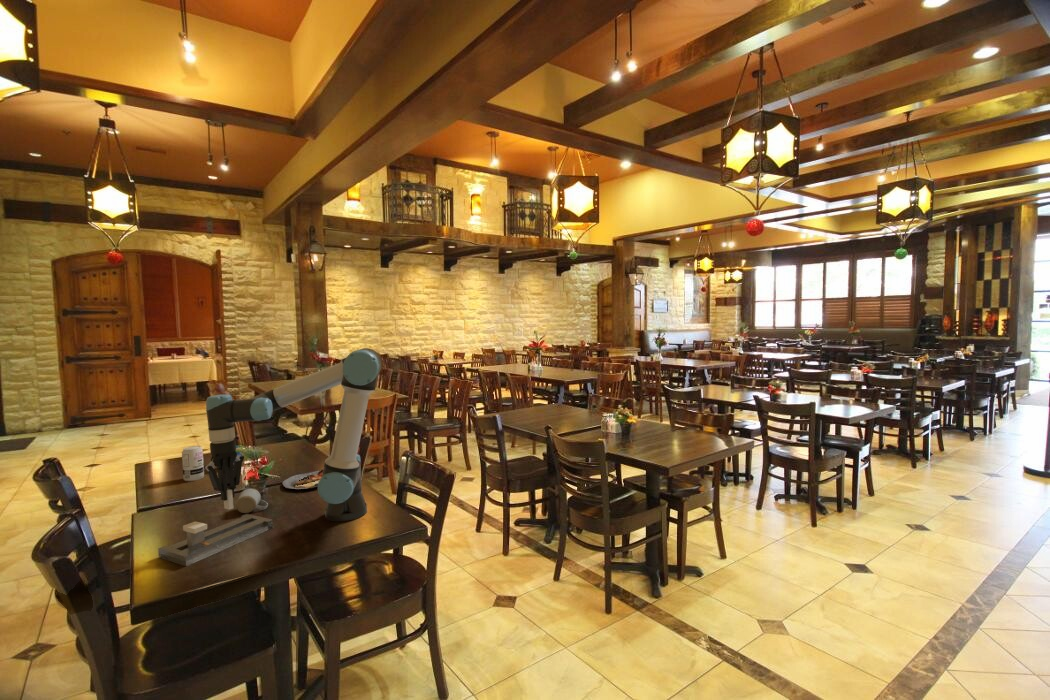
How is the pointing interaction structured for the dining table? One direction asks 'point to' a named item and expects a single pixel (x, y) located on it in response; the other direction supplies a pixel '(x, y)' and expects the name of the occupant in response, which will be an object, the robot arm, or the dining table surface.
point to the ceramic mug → (250, 501)
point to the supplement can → (192, 463)
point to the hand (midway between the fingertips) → (229, 508)
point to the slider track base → (216, 540)
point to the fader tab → (195, 533)
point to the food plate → (312, 477)
